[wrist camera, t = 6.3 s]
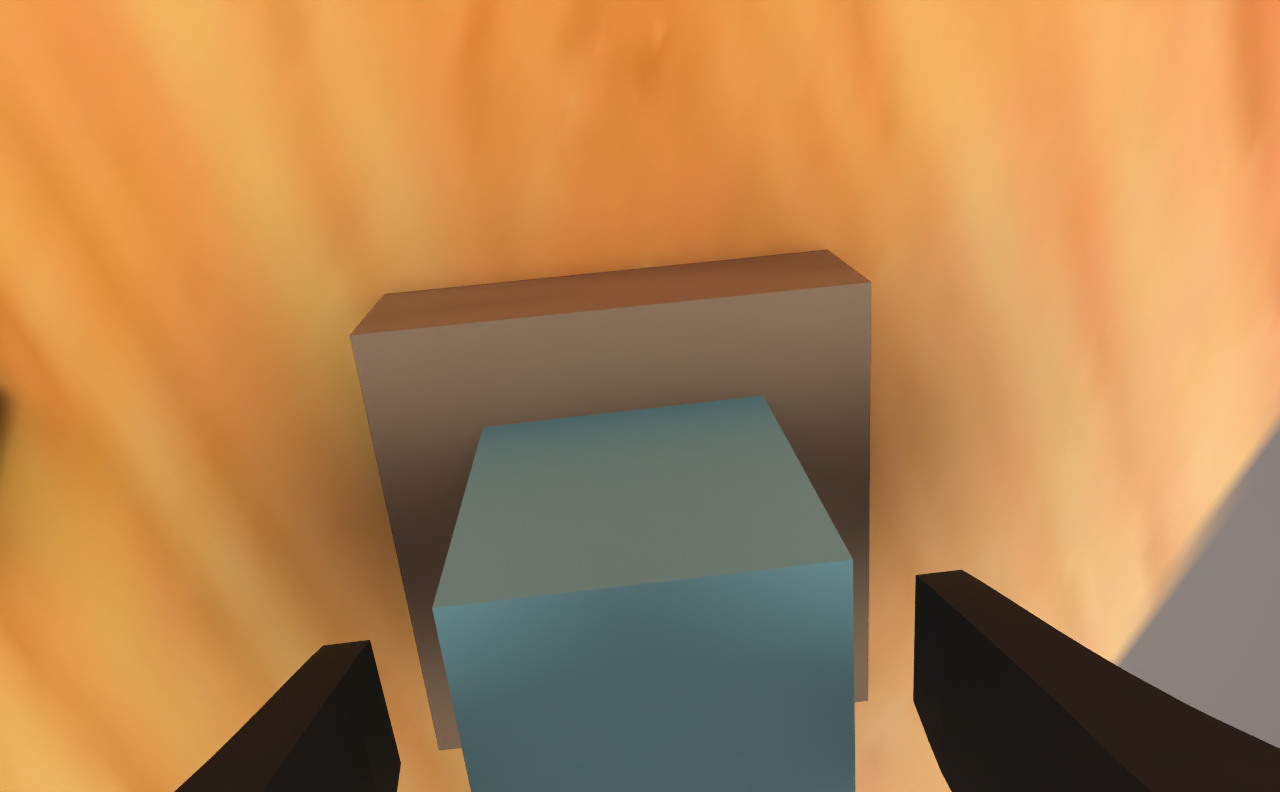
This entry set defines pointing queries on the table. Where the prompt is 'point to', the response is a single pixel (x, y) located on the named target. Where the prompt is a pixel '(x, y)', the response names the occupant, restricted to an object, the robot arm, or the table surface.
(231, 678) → the table surface
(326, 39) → the table surface
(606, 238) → the table surface
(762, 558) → the teal block
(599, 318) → the walnut block
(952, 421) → the table surface
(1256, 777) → the robot arm
